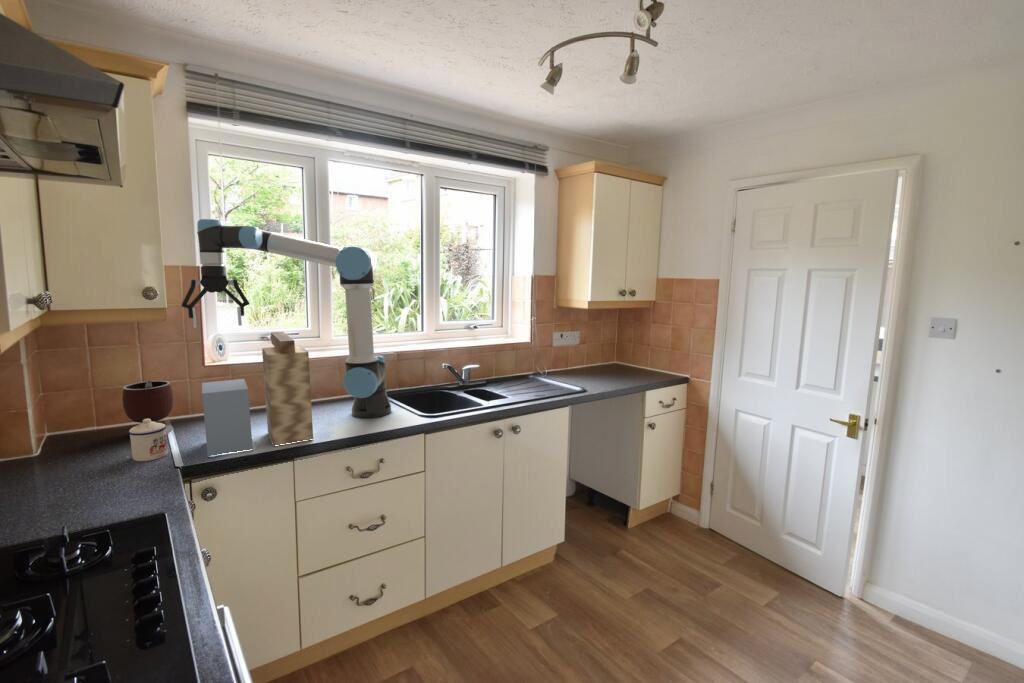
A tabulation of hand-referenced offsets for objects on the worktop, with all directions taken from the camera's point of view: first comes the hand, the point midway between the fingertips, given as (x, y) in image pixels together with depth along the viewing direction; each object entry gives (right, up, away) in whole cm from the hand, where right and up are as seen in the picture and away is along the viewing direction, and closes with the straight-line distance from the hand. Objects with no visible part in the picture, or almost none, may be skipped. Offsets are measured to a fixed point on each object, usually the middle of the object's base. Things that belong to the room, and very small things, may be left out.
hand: (218, 326), depth 173 cm
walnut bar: (+25, -7, -6) cm, 27 cm away
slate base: (+13, -39, -15) cm, 44 cm away
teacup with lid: (-6, -40, -22) cm, 46 cm away
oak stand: (+28, -38, -5) cm, 47 cm away
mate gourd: (-21, -37, -3) cm, 43 cm away
